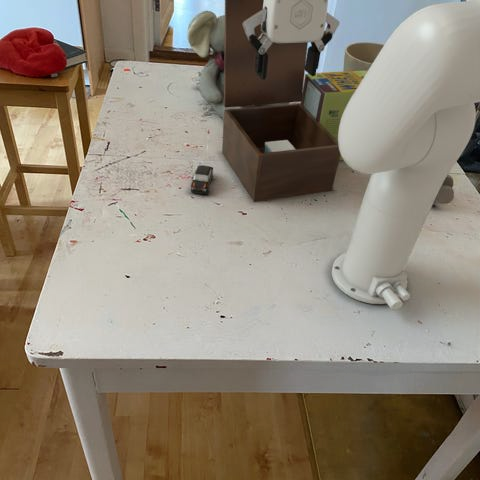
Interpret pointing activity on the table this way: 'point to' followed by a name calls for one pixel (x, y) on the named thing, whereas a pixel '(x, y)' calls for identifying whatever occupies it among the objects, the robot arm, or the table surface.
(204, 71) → the plush elephant
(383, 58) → the robot arm
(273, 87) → the lid
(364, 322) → the table surface
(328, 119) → the protein box
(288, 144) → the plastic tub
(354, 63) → the plant pot
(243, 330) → the table surface
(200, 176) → the toy car
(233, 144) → the chest
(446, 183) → the figurine character
